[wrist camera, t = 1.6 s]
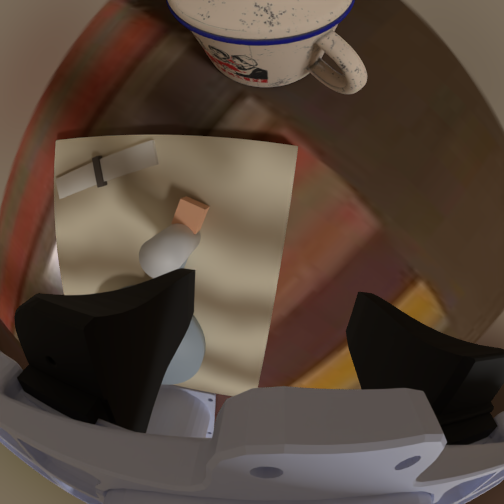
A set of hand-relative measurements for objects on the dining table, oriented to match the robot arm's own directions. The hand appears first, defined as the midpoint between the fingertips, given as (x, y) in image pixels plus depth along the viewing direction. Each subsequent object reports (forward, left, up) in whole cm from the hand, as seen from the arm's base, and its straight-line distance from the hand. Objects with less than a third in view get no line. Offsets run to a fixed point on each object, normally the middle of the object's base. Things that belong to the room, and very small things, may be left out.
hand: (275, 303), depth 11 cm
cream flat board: (-4, +9, -9) cm, 14 cm away
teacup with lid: (+14, +1, -10) cm, 17 cm away
